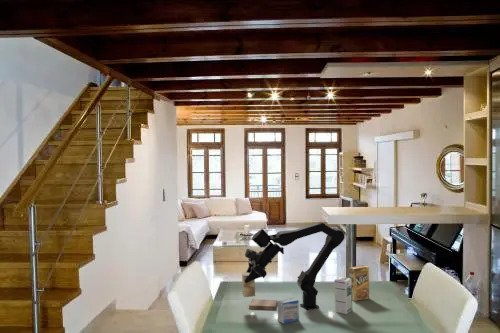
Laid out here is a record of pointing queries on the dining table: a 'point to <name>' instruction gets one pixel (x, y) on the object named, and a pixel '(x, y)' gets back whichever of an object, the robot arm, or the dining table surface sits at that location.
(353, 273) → the candy box
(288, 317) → the medicine box
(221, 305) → the dining table surface
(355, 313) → the dining table surface
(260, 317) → the dining table surface
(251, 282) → the oak pillar
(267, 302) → the walnut slab
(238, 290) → the dining table surface
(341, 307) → the syrup box
